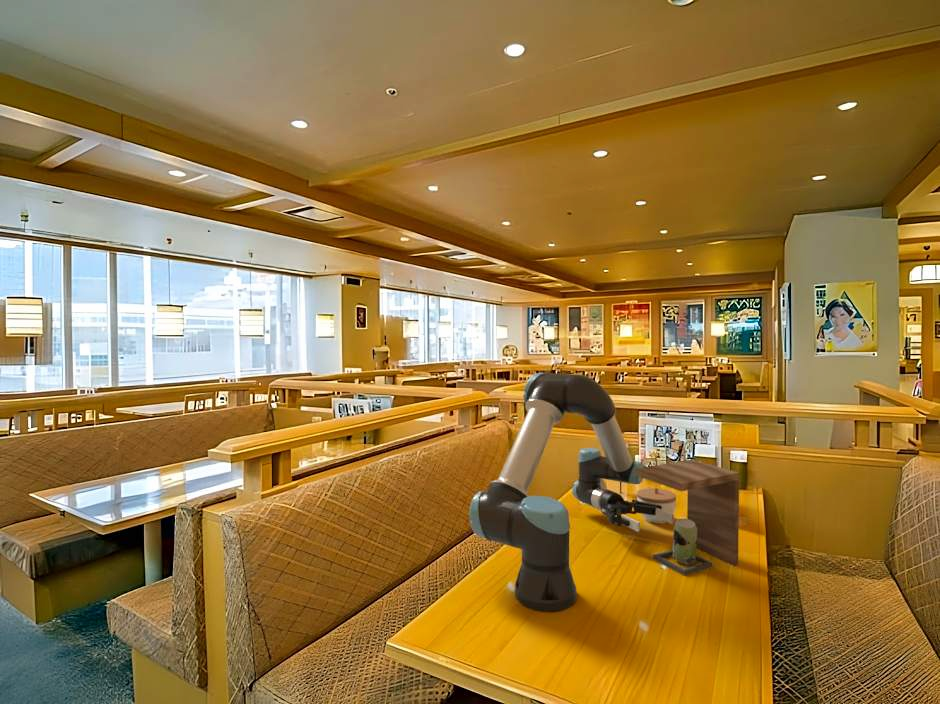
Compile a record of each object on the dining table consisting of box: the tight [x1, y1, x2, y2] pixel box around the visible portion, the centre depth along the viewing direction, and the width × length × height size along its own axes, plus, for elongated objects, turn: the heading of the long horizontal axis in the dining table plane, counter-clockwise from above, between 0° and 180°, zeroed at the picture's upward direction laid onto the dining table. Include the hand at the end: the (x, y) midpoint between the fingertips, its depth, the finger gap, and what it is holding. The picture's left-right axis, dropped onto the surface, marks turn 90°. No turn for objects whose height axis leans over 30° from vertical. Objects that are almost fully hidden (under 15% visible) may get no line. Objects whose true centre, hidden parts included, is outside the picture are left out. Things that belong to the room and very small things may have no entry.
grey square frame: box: [652, 549, 714, 576], centre depth 143 cm, size 11×11×1 cm
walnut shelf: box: [636, 459, 740, 567], centre depth 143 cm, size 22×16×26 cm
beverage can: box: [672, 518, 697, 566], centre depth 143 cm, size 6×7×12 cm
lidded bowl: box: [636, 487, 677, 524], centre depth 175 cm, size 13×13×11 cm
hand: (656, 523), depth 151 cm, fingers open, 13 cm apart
